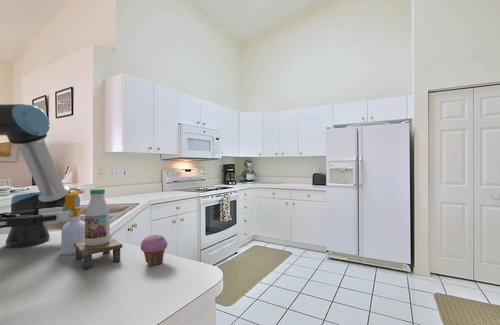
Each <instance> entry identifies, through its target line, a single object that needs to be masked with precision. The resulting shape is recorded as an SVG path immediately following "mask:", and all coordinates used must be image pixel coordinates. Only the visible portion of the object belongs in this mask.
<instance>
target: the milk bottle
mask: <svg viewBox="0 0 500 325" xmlns="http://www.w3.org/2000/svg"><path fill="white" fill-rule="evenodd" d="M105 192H106V191H105V189H104V188H96V189H93V188H92V189H90V191H89V193H90V194H89V195H90V199H89V202H88V204H87V207H86V210H85V214H84V222H85V245H86V246H98V245H103V244H106V243H108V242H109V240H110V237H111V236H110V234H111V233H110V231H111V230H110V227H111V226H110V225H111V224H110V223H111V222H110V221H111V220H110V209H109V208H110V207H109V205H108V204H107V202H106V199H105Z"/></svg>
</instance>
